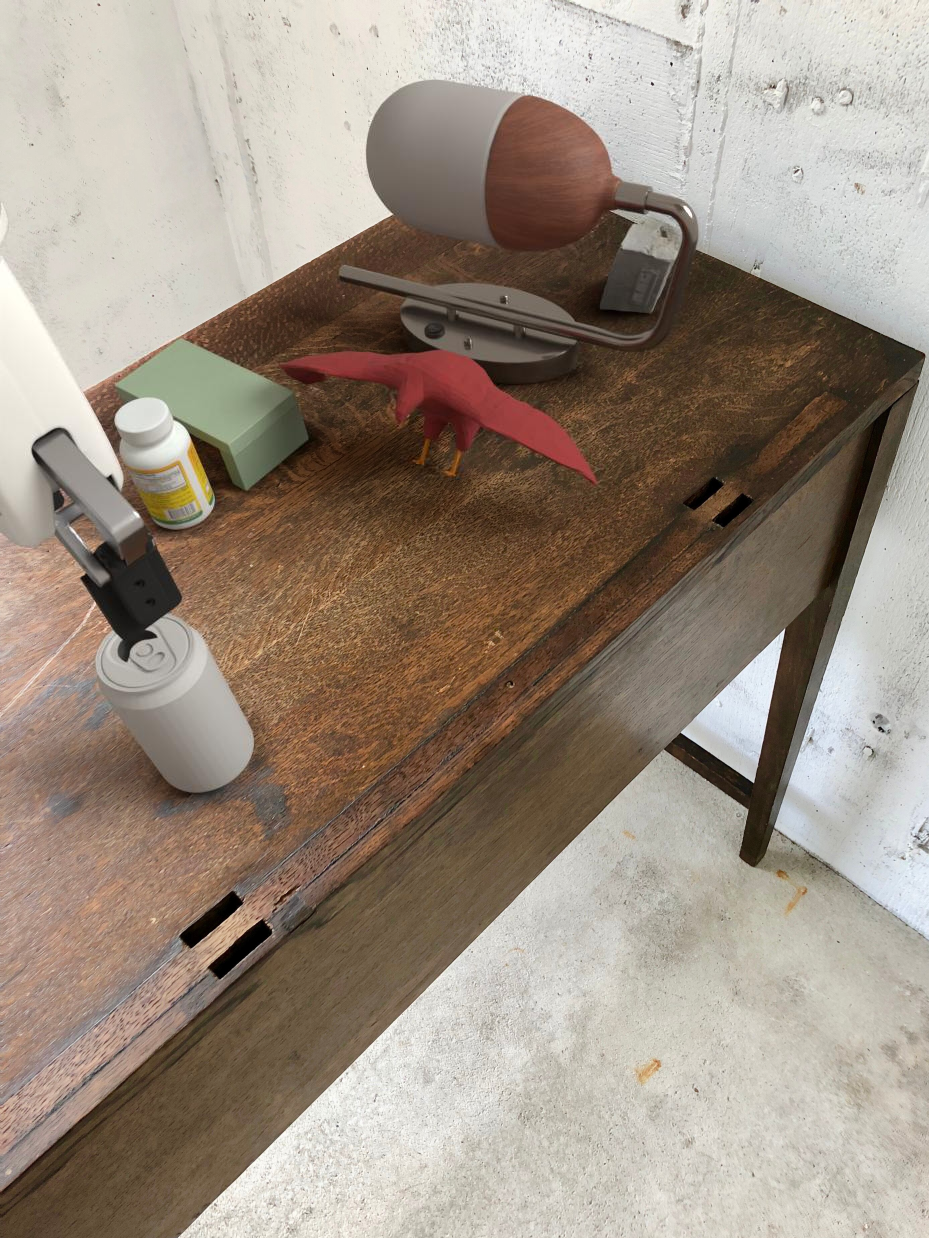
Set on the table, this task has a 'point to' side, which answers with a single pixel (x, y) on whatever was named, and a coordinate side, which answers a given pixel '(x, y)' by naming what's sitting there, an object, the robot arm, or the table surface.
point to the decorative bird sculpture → (448, 400)
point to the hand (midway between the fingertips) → (91, 566)
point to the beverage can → (176, 704)
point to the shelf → (222, 407)
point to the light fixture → (503, 220)
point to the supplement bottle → (163, 464)
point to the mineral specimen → (641, 266)
